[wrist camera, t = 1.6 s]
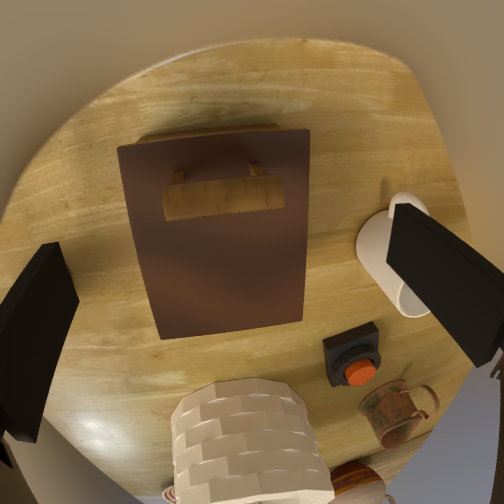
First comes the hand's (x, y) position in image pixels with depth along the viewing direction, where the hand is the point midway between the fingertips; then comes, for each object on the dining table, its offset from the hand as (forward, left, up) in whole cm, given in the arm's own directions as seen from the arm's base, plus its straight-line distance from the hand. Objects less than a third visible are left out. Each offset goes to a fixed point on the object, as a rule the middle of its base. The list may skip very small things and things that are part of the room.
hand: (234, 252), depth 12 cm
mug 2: (+38, +42, -20) cm, 60 cm away
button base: (+26, +26, -20) cm, 41 cm away
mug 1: (+5, +22, -20) cm, 30 cm away
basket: (+44, +12, -20) cm, 49 cm away
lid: (+5, +1, -11) cm, 12 cm away
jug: (+79, +52, -20) cm, 96 cm away
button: (+26, +26, -16) cm, 40 cm away
